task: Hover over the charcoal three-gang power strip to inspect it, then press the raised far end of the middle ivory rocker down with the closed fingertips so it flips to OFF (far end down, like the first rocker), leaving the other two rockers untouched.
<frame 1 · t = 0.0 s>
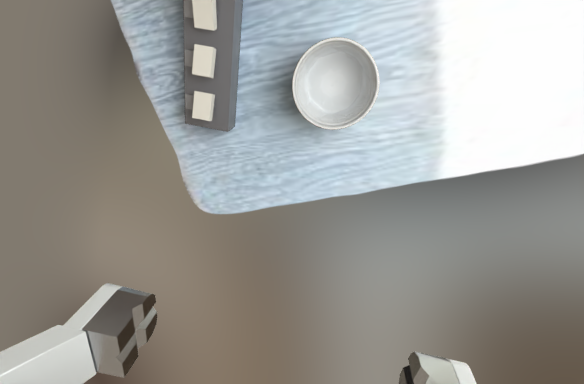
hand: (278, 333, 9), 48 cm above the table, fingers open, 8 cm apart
power strip: (216, 60, 52), on the table
rocker 1: (204, 11, 44), point 5 cm above the table, hinge at 13.0°
rocker 3: (203, 106, 50), point 5 cm above the table, hinge at -13.0°
rocker 2: (204, 61, 47), point 5 cm above the table, hinge at -13.0°
ramekin: (335, 81, 51), on the table
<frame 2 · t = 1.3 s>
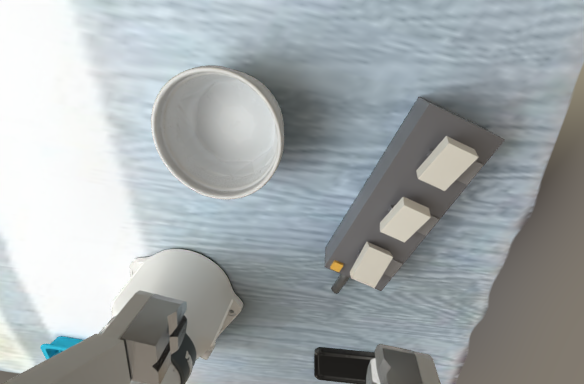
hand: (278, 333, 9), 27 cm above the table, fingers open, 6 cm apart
power strip: (394, 196, 36), on the table
rocker 1: (370, 264, 34), point 5 cm above the table, hinge at 13.0°
ice cube tray: (106, 356, 61), on the table
rocker 3: (445, 164, 28), point 5 cm above the table, hinge at -13.0°
rocker 2: (403, 220, 31), point 5 cm above the table, hinge at -13.0°
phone: (357, 363, 51), on the table
ramekin: (236, 123, 35), on the table
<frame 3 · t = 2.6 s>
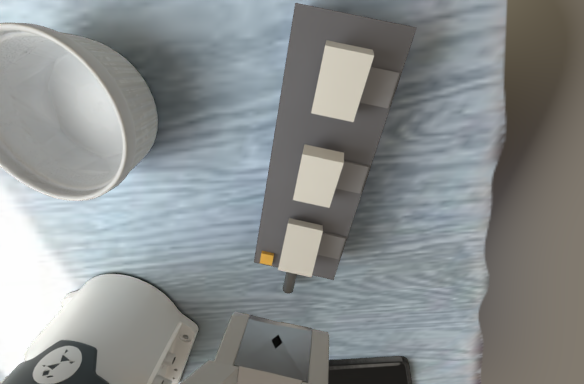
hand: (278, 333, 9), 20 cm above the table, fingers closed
power strip: (319, 153, 28), on the table
rocker 1: (300, 247, 26), point 5 cm above the table, hinge at 13.0°
rocker 3: (340, 82, 20), point 5 cm above the table, hinge at -13.0°
rocker 2: (317, 177, 23), point 5 cm above the table, hinge at -13.0°
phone: (353, 373, 42), on the table
ramekin: (105, 106, 28), on the table
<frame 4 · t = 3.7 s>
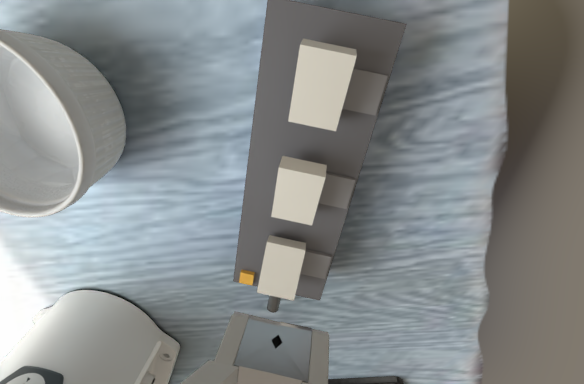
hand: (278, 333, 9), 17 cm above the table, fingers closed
power strip: (303, 163, 25), on the table
rocker 1: (281, 267, 23), point 5 cm above the table, hinge at 13.0°
rocker 3: (320, 87, 17), point 5 cm above the table, hinge at -13.0°
rocker 2: (297, 192, 20), point 5 cm above the table, hinge at -13.0°
ramekin: (70, 112, 26), on the table
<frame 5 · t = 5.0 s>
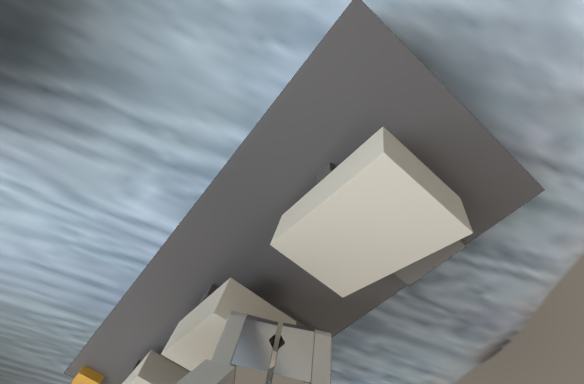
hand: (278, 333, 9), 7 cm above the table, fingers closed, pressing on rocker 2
power strip: (256, 249, 16), on the table
rocker 3: (360, 222, 8), point 5 cm above the table, hinge at -13.0°
rocker 2: (226, 338, 11), point 5 cm above the table, hinge at -9.6°, touching gripper
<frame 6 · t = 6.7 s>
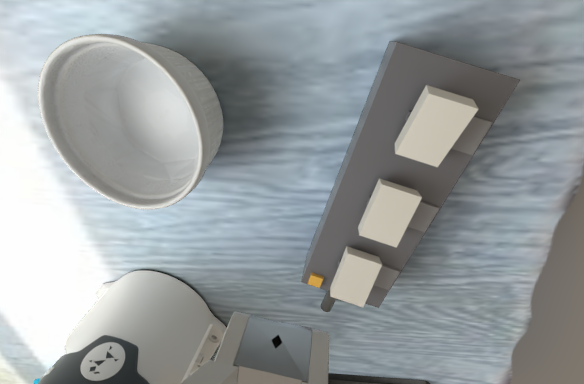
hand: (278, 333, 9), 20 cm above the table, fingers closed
power strip: (381, 182, 27), on the table
rocker 1: (354, 276, 26), point 5 cm above the table, hinge at 13.0°
rocker 3: (432, 128, 19), point 5 cm above the table, hinge at -13.0°
rocker 2: (387, 213, 22), point 5 cm above the table, hinge at 6.6°
ramekin: (170, 113, 28), on the table
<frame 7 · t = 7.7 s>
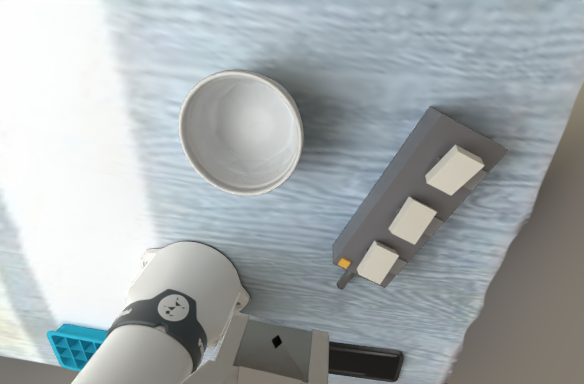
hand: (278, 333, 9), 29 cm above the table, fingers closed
power strip: (401, 198, 38), on the table
rocker 1: (377, 262, 36), point 5 cm above the table, hinge at 13.0°
ice cube tray: (110, 344, 62), on the table
rocker 3: (453, 170, 30), point 5 cm above the table, hinge at -13.0°
rocker 2: (411, 220, 33), point 5 cm above the table, hinge at 12.3°
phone: (356, 357, 54), on the table
ramekin: (255, 123, 37), on the table
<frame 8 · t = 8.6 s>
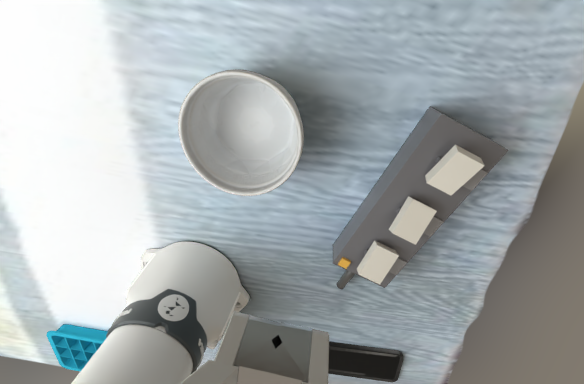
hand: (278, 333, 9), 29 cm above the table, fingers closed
power strip: (401, 198, 38), on the table
rocker 1: (377, 262, 36), point 5 cm above the table, hinge at 13.0°
ice cube tray: (110, 344, 62), on the table
rocker 3: (453, 170, 30), point 5 cm above the table, hinge at -13.0°
rocker 2: (412, 220, 33), point 5 cm above the table, hinge at 16.3°
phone: (356, 357, 54), on the table
ramekin: (255, 123, 37), on the table
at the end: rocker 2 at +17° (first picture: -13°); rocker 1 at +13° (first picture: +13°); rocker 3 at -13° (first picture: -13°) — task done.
